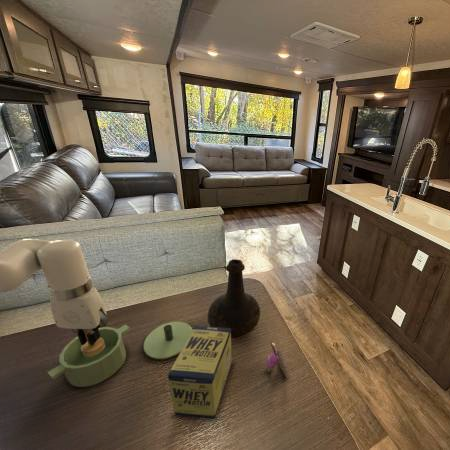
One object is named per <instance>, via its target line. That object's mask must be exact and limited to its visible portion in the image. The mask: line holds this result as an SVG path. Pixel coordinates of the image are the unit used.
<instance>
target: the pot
mask: <svg viewBox="0 0 450 450" xmlns="http://www.w3.org/2000/svg"><path fill="white" fill-rule="evenodd" d="M98 330H99V333H100V338H103V340H104V343H105V348H104V349H103V351H101V352H100V353H99V354H97V355H95V356H92V357H85V356H84V355H83V353H82V351H81V347H82V345H81V343H80V340H79V338H78V336H76V337H74V338H73V339H72V340H71V341H69V342H68V343H67V344H66V345H65V346H64V347H63V349H62V351H61V352H60V353H59V365H57V366H55V367H54V368H52V369H51V370H49V371H47V372H46V374H47V375H48V376H49V378H50V379H51V380H55V379H57V378H58V377H60V376H61V375H63V374H64V376H65V378H66V381H67V382H68V383H69V384H70V385H71V386H73V387H77V388H86V387H91V386H95V385H97V384H99V383H101V382H103V381H105V380H108V379H109V378H110V377H112V376H113V375H114V374H115V373H116V372H118V371H119V370H120V369H121V367H122V366H123V365H124V363H125V361H126V358H127V351H126V347H125V343H124V340H123V335H124V334H126V333H128V332H129V331H131V328H130V326H128V325H127V324H123V325H122V326H120V327H119V328H116V327H109V326H105V327H100V328H98Z"/></svg>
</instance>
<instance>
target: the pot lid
mask: <svg viewBox="0 0 450 450" xmlns="http://www.w3.org/2000/svg"><path fill="white" fill-rule="evenodd" d="M192 330H193V328H192V326H191V325H190V324H189V323H186V322H184V321H170V322H167V323H163V324H162V325H159V326H157V327H155V328H154V329H153V330H151V332H150V333H149V334H148V335H147V336H146V338H145V340H144V343H143V351H144V353H145V354H146V356H148V357H149V358H151V359H154V360H166V359H169V358H173V357H175V356H177V355H179V354H180V352H181V350H182V348H183V347H184V345H185V343H186V341H187V339H188V337H189V336H190V334H191V332H192Z"/></svg>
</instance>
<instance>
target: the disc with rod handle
mask: <svg viewBox="0 0 450 450" xmlns="http://www.w3.org/2000/svg"><path fill="white" fill-rule="evenodd" d="M83 331H84V334H85V336H86V339H87V343H86V344H84V345H82V347H81V351H82V353H83V355H84V356H85V357H92V356H95V355H97V354H99V353H100V352H101V351H103V349H104V348H105V343H104V340H103V338H99V339H98V340H97V341H96V342H95V344H94V345H90V343H89V341H88V338H87V334H88V331H87V329H83Z"/></svg>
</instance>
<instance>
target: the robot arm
mask: <svg viewBox="0 0 450 450" xmlns="http://www.w3.org/2000/svg"><path fill="white" fill-rule="evenodd" d="M41 270H42V272H43V275H44V277H45V279H46V282H47V288H48V289H49V290H50V292H51V295H50V297H49V299H50V300H49V303H50V305H49V306H50V310H51V314H52V318H53V321H54V323H55V325H56V327H57V328H60V329H68V330H69V329H70V330H72V332H73V333H74V334H75V335H77V337H78V338H79V340H80V343H81V345H84V344H86V343H87V339H86V336H85V334H84V331H83V329H87V331H88V334H87V338H88V341H89V343H90V345H94V344H95V342H96V341H97V340H98V339H99V338H100V333H99V330H98V328H103V327H108V325H109V324H110V320H109V319H108V318H107V310H106V306H105V303H104V301H103V299H102V296H101V294H100V293H99V291H98V290H97V288H96V287H94V285H93V281H92V277H91V275H90V272H89V268H88V265H87V262H86V258H85V256H84V251H83V249H82V245H81V244H80V243H79V242H78V241H76V240H72V239H60V240H46V239H45V240H44V239H36V238H23V239H19V240H16V241H14V242H13V243H11V244H9V245H7V246H6V247H4V248H3V249H1V250H0V293H6V292H10V291H13V290H15V289H17V288H19V287H20V286H22V285H23V284H24V283H25V282H27V281H28V280H29V279H30V278H31V277H32V276H34V274H36V273H37V272H40V271H41Z"/></svg>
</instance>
